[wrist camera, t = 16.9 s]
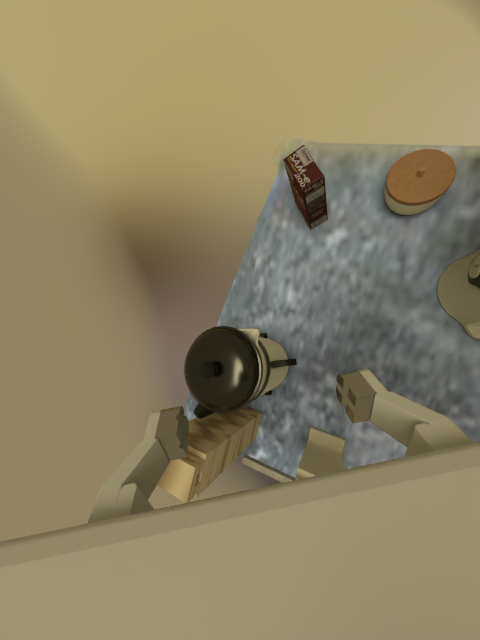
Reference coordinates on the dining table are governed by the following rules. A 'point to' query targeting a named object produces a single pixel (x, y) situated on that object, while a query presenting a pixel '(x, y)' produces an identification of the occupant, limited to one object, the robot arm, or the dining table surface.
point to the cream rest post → (321, 454)
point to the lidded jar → (418, 181)
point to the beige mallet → (267, 469)
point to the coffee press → (233, 368)
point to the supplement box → (307, 186)
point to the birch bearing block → (209, 451)
